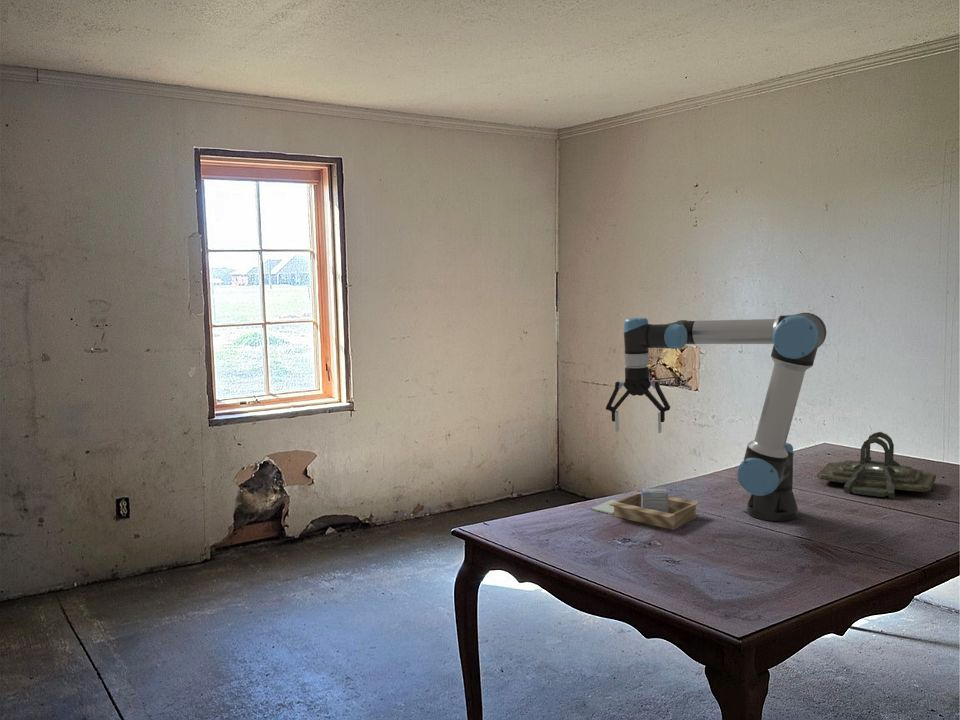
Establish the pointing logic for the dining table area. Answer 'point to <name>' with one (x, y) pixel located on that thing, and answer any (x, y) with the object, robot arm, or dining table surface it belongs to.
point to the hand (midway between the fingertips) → (638, 431)
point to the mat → (605, 507)
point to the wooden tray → (676, 516)
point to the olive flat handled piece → (877, 473)
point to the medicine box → (655, 499)
